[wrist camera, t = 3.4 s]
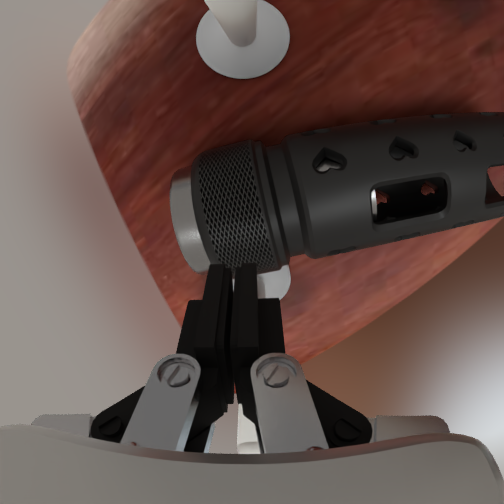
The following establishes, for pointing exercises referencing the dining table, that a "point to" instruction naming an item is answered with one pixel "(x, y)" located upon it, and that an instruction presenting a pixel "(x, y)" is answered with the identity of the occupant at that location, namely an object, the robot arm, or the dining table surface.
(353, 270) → the dining table surface
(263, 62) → the post
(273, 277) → the cord post
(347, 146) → the muzzle brake
